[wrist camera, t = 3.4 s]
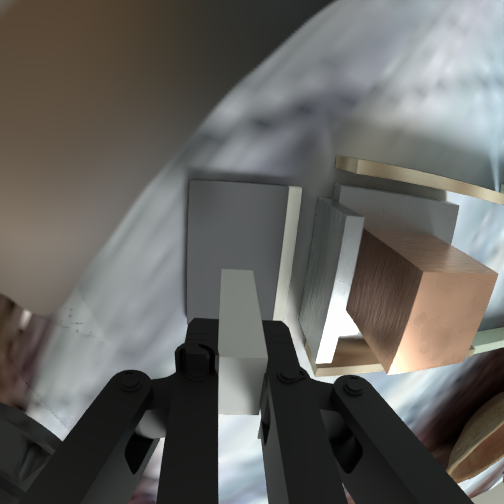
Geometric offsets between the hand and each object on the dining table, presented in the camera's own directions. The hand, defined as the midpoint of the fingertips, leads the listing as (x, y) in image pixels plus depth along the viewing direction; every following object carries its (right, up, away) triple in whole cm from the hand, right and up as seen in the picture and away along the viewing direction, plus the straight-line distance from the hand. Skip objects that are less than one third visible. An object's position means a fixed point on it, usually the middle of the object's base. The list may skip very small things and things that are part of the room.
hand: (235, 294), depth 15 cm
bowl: (+37, -23, +18) cm, 47 cm away
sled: (+11, +1, +6) cm, 12 cm away
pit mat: (0, +2, +5) cm, 6 cm away
